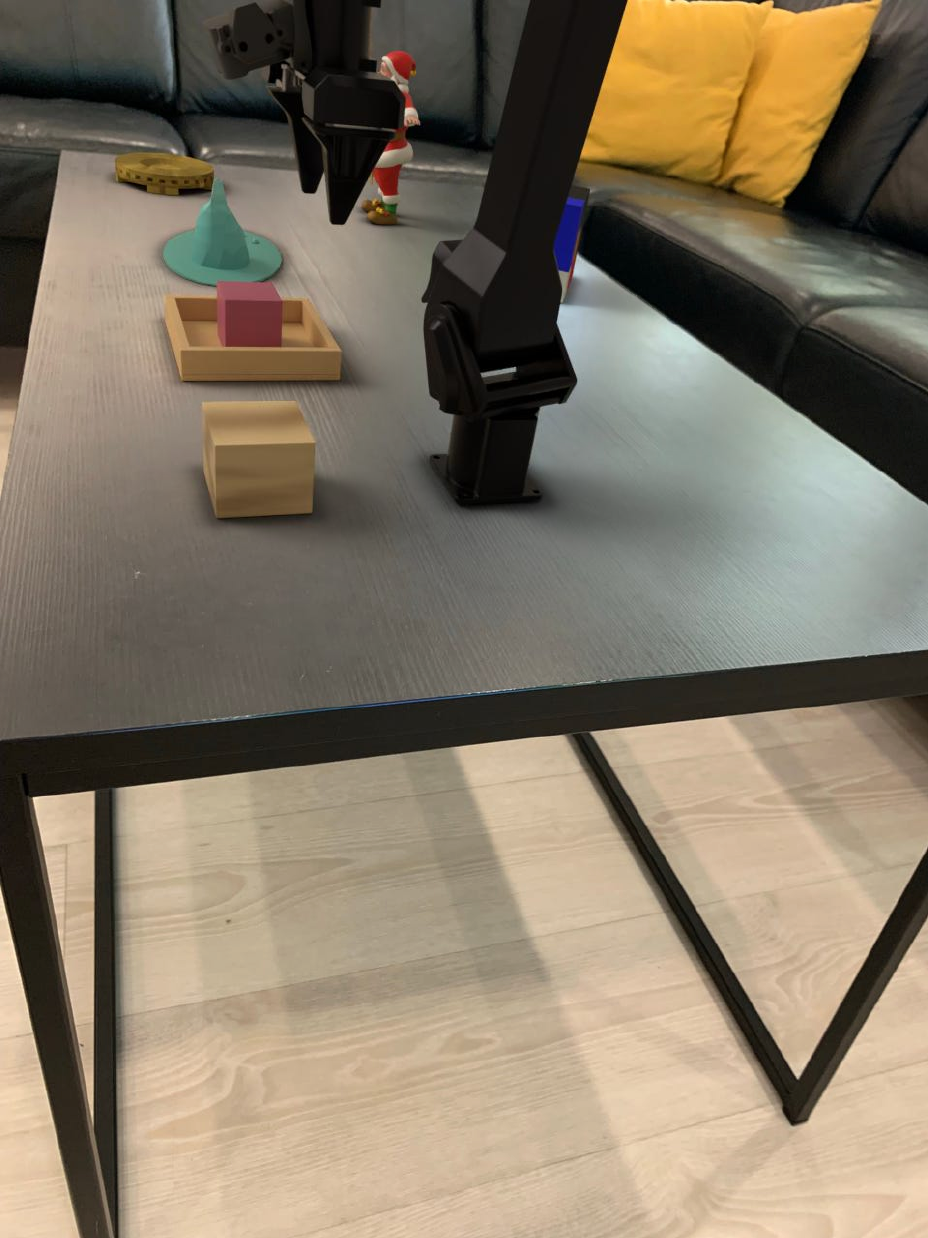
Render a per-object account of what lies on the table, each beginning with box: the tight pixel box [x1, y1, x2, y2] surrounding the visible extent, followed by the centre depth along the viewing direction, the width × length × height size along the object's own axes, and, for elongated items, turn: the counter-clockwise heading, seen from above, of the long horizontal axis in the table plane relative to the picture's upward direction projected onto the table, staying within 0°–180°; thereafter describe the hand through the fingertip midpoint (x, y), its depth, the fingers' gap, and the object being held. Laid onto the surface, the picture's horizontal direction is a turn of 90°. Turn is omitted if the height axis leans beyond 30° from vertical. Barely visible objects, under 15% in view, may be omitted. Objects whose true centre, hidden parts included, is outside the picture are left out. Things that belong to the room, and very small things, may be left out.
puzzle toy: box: [554, 184, 591, 304], centre depth 104 cm, size 10×10×10 cm
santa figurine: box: [361, 50, 421, 226], centre depth 116 cm, size 25×6×19 cm, turn 12°
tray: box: [163, 293, 343, 382], centre depth 79 cm, size 13×13×2 cm
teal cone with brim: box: [162, 177, 283, 287], centre depth 97 cm, size 12×20×9 cm, turn 7°
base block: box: [201, 400, 317, 519], centre depth 59 cm, size 6×6×5 cm
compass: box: [114, 152, 215, 196], centre depth 119 cm, size 12×12×2 cm
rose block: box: [216, 281, 283, 347], centre depth 78 cm, size 5×5×5 cm
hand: (322, 207), depth 72 cm, fingers open, 9 cm apart
